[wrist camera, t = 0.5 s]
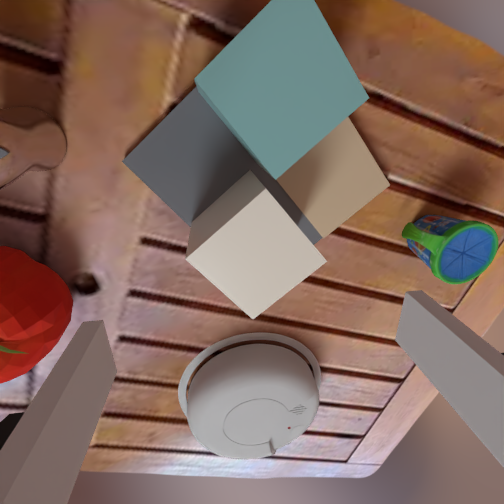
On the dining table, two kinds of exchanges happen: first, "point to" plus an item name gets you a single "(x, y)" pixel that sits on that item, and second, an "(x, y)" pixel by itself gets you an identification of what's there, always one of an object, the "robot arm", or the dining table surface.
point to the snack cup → (452, 246)
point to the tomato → (29, 312)
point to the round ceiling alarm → (251, 396)
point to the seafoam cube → (282, 84)
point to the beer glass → (28, 143)
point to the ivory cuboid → (250, 247)
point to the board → (254, 169)
